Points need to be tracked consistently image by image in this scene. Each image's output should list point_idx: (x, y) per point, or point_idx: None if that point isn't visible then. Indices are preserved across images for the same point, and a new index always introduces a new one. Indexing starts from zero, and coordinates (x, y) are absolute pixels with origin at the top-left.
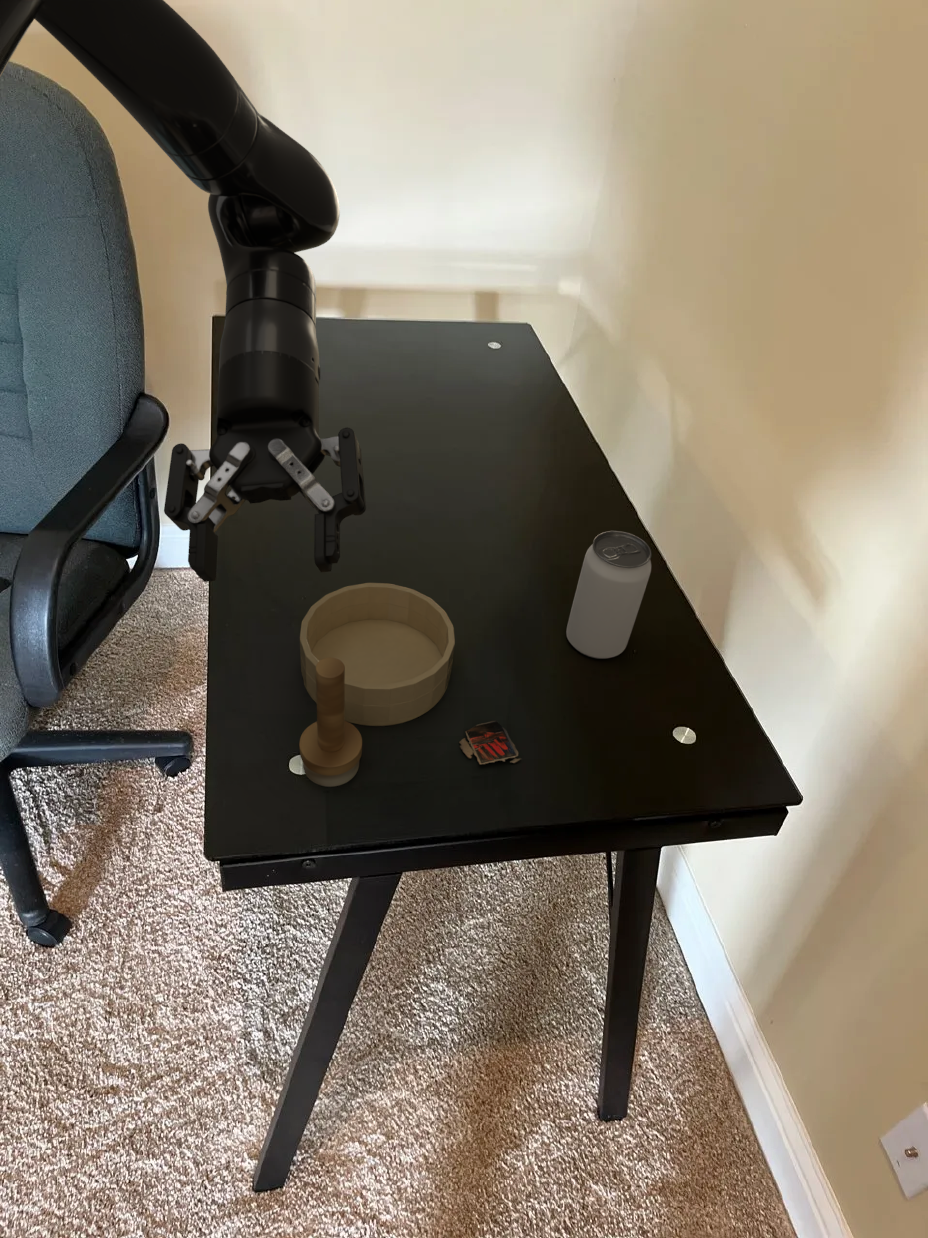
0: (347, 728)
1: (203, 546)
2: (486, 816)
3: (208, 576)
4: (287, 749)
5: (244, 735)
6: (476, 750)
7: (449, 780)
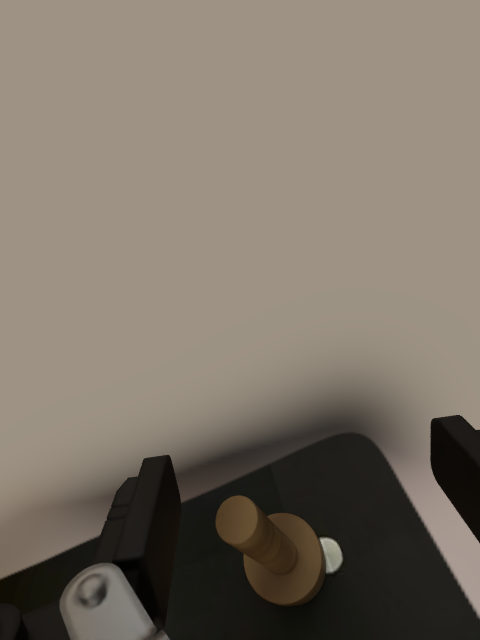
0: (266, 586)
1: (472, 452)
2: None
3: (431, 436)
4: (352, 576)
5: (421, 589)
6: None
7: None
